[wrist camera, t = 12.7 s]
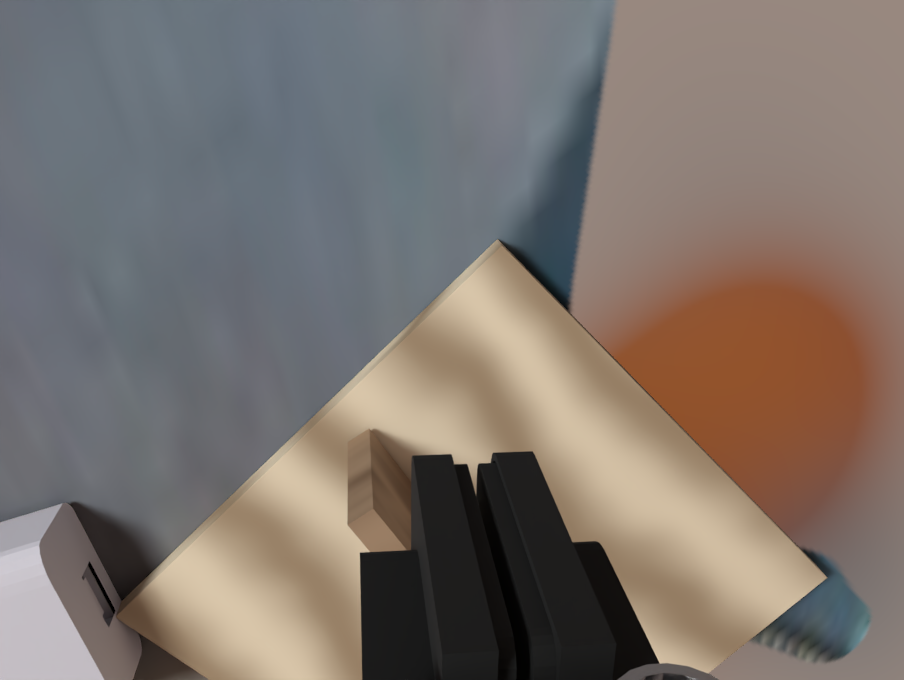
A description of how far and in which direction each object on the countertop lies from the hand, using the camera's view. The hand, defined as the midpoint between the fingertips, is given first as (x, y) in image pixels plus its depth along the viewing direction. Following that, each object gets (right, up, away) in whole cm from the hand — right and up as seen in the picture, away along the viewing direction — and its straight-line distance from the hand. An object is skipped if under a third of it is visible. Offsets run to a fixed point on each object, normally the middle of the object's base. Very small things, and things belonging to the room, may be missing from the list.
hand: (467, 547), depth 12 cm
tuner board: (+2, -10, +33) cm, 34 cm away
